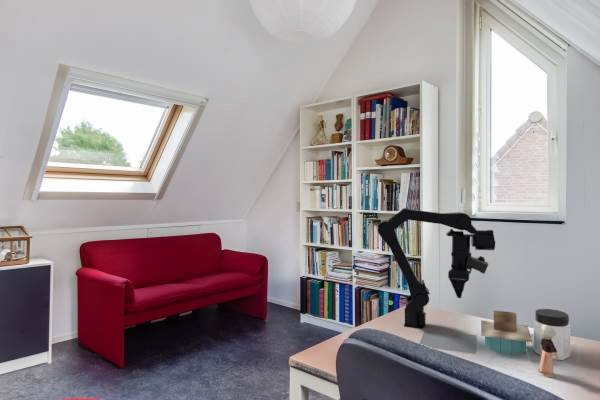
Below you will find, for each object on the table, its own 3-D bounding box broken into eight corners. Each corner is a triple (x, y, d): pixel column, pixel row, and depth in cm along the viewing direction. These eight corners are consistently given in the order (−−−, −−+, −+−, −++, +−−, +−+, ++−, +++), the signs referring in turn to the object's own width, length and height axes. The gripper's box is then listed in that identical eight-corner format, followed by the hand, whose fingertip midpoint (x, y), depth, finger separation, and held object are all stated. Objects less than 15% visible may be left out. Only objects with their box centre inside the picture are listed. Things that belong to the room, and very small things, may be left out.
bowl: (485, 352, 118) (485, 335, 118) (484, 338, 128) (484, 323, 128) (527, 357, 113) (527, 340, 113) (524, 343, 123) (524, 327, 123)
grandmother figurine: (530, 368, 107) (530, 321, 107) (544, 367, 107) (544, 320, 107) (551, 382, 99) (551, 331, 99) (565, 381, 100) (565, 330, 99)
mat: (418, 347, 122) (418, 345, 122) (425, 330, 137) (425, 328, 137) (475, 355, 116) (475, 353, 116) (476, 336, 130) (476, 335, 130)
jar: (559, 363, 110) (559, 319, 110) (529, 353, 117) (529, 312, 116) (574, 355, 115) (574, 313, 114) (544, 346, 122) (544, 306, 121)
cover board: (481, 335, 117) (481, 316, 117) (481, 322, 129) (481, 304, 129) (532, 342, 112) (532, 322, 112) (527, 327, 124) (527, 309, 124)
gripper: (486, 255, 125) (485, 304, 125) (487, 247, 142) (486, 290, 142) (448, 252, 130) (447, 300, 130) (453, 245, 147) (453, 287, 147)
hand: (460, 294), depth 137 cm, fingers open, 9 cm apart
